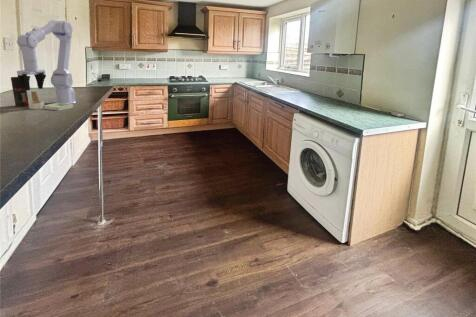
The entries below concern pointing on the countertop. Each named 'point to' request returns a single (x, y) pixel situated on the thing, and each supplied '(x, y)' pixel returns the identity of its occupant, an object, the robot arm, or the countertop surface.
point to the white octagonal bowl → (36, 105)
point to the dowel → (35, 97)
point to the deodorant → (19, 92)
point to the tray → (58, 106)
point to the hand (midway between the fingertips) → (34, 89)
